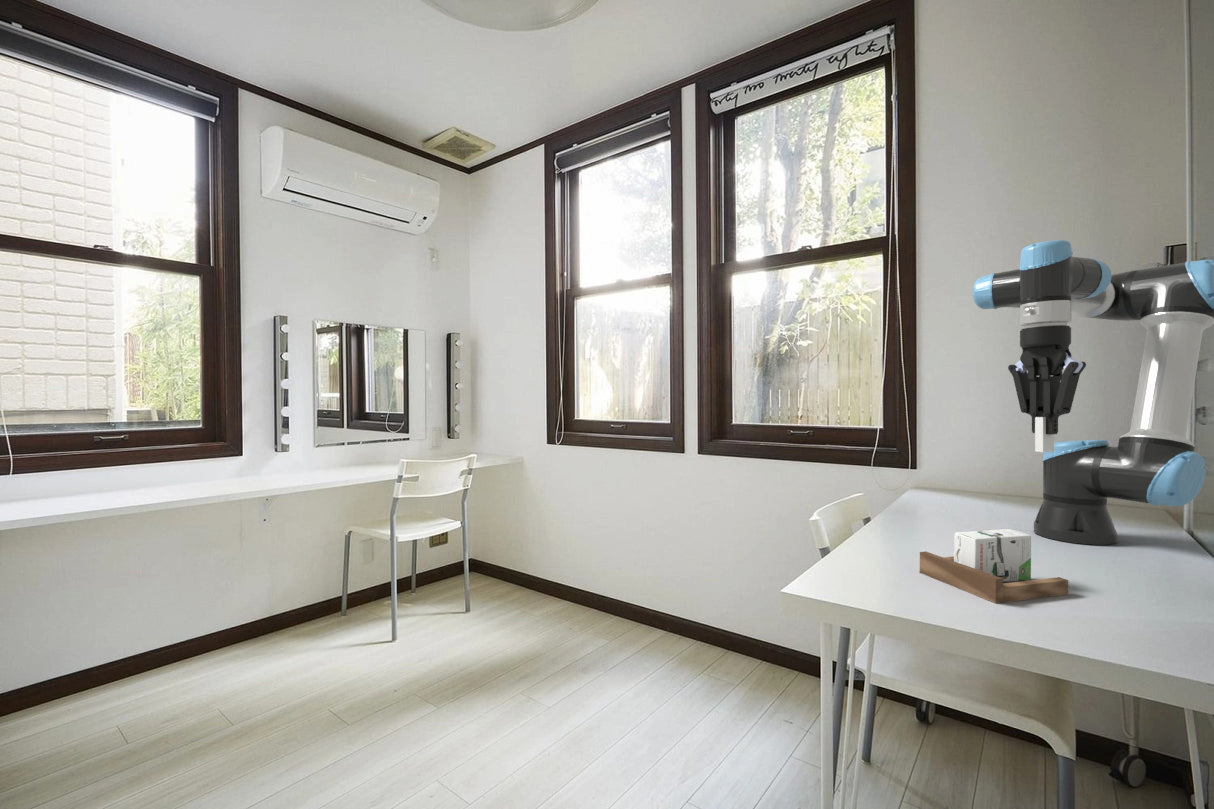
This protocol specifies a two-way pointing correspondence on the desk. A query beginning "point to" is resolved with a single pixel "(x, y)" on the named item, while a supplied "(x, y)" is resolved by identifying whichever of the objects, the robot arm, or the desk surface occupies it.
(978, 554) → the ink box
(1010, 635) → the desk surface
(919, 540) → the desk surface
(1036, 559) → the desk surface
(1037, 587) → the u rest
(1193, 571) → the desk surface
